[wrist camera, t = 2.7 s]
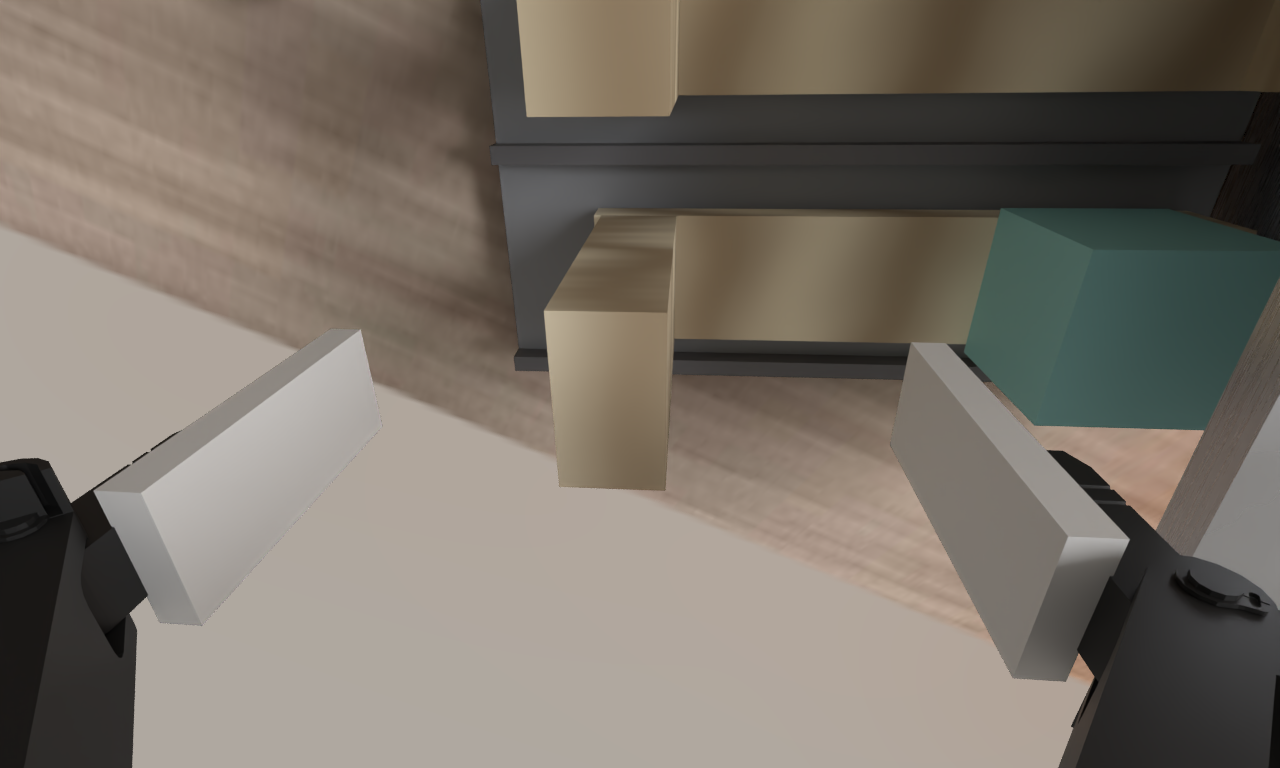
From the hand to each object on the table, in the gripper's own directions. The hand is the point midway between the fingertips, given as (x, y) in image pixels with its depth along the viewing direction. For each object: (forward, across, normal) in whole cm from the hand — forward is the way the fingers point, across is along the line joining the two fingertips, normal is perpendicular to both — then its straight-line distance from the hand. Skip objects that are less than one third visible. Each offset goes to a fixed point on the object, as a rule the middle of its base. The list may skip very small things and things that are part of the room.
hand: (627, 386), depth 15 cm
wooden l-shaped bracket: (+9, +8, 0) cm, 12 cm away
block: (+8, +14, 0) cm, 16 cm away
